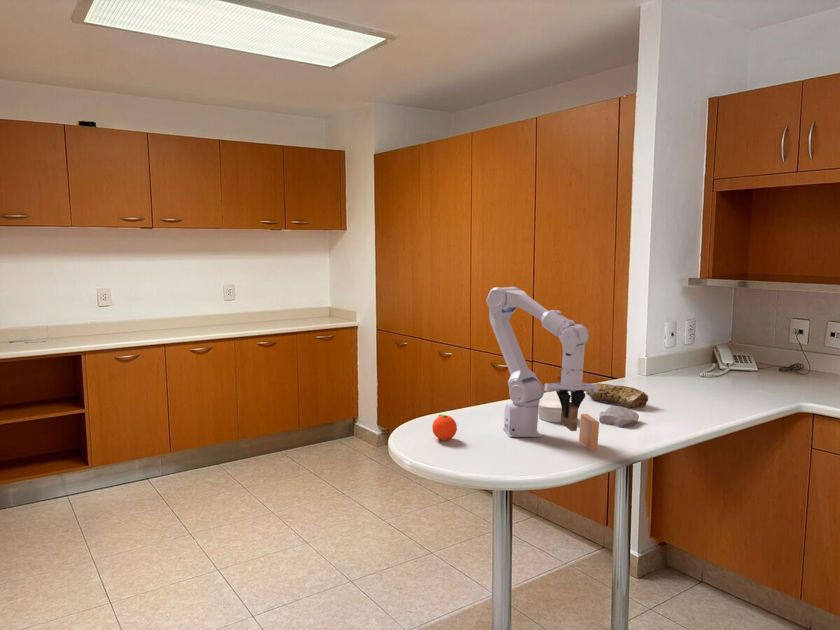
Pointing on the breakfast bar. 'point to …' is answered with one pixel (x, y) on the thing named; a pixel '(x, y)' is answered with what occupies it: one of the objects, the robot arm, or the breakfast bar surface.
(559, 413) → the ramekin
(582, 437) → the terracotta tile
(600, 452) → the breakfast bar surface
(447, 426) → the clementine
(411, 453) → the breakfast bar surface
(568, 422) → the brown wooden block
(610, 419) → the stone block
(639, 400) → the mossy brown rock
